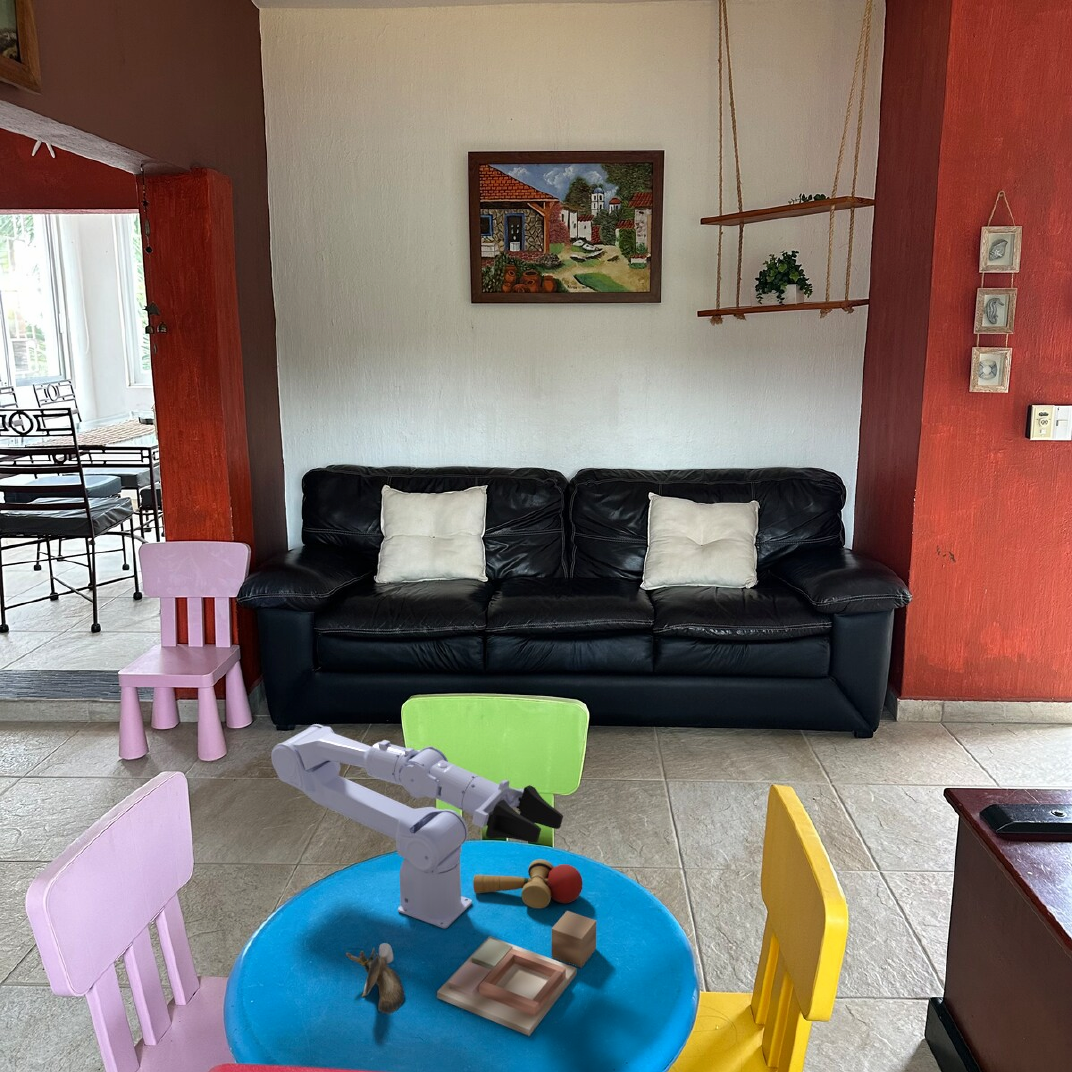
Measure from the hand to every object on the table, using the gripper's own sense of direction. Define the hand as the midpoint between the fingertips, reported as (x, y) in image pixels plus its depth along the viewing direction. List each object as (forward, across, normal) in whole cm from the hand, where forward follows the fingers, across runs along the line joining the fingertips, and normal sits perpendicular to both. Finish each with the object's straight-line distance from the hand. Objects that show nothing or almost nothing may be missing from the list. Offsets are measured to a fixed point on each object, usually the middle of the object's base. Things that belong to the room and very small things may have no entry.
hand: (550, 828), depth 143 cm
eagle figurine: (-14, -14, +27) cm, 34 cm away
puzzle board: (+2, -5, +22) cm, 23 cm away
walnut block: (+7, +5, +19) cm, 21 cm away
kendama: (-6, +15, +19) cm, 25 cm away
